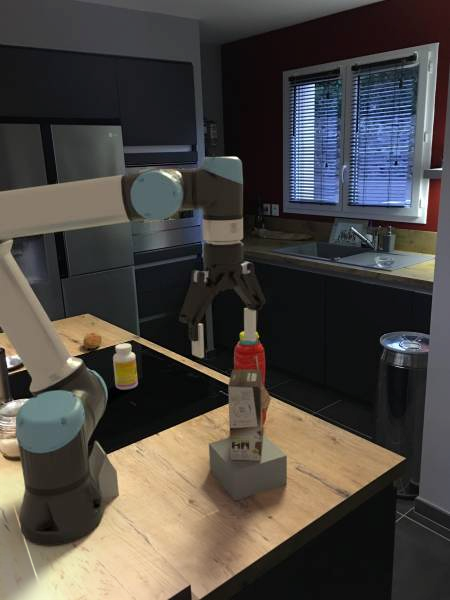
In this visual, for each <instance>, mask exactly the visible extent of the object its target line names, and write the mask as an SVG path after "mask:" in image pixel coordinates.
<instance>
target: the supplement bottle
mask: <svg viewBox="0 0 450 600" xmlns="http://www.w3.org/2000/svg"><path fill="white" fill-rule="evenodd" d="M114 349H115V352H116V353H114V354H113V356H112V361H113V370H114V371H113V372H114V383H115V388H117V389H119V390H122V391H123V390H125V391H126V390H131V389H134V388H136V387H137V386H138V384H139V382H138V381H139V380H138V372H137V361H136V360H137V359H136V354H135V352H132V345H131V344H130V343H125V342H124V343H119V344H117V345H115V348H114Z"/></svg>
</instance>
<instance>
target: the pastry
mask: <svg viewBox="0 0 450 600" xmlns="http://www.w3.org/2000/svg"><path fill="white" fill-rule="evenodd" d="M102 342H103V341H102V337H101V335H100V334H98V333H96V332H91V333H89V334H87V335H85V337H84V339H83V341H82V343H83V346H84V345H85V346H84V347H85V349H88V348H90V349H97V348H96V347H98V346H99V345H100V344H101V345H102ZM101 345H100V346H101ZM100 346H99V347H100ZM99 347H98V348H99Z"/></svg>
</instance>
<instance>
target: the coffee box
mask: <svg viewBox="0 0 450 600" xmlns="http://www.w3.org/2000/svg"><path fill="white" fill-rule="evenodd" d="M227 388H228V389H227V390H228V417H229V418H228V419H229V421H228V422H229V424H228V425H229V438H230V453H231V460H251V461H260V460H261V455H262V445H263V434H264V425H263V407H262V370H259V369H248V370H234V369H232V370H231V374H230V377H229V382H228V385H227Z"/></svg>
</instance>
